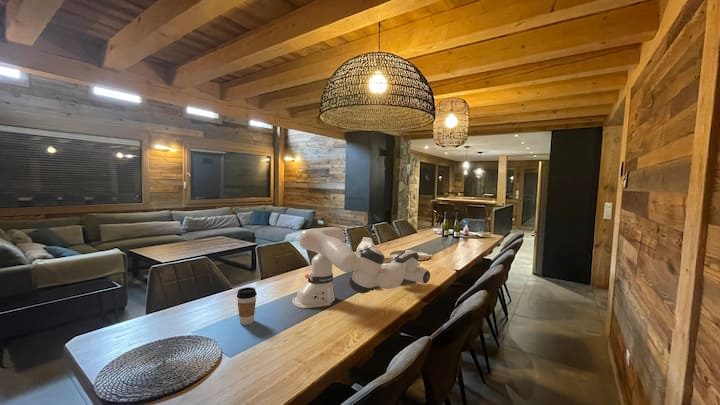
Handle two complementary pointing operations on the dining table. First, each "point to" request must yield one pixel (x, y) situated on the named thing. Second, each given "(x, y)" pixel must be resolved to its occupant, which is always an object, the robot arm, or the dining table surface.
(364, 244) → the milk
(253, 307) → the coffee cup
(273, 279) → the dining table surface
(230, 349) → the dining table surface
